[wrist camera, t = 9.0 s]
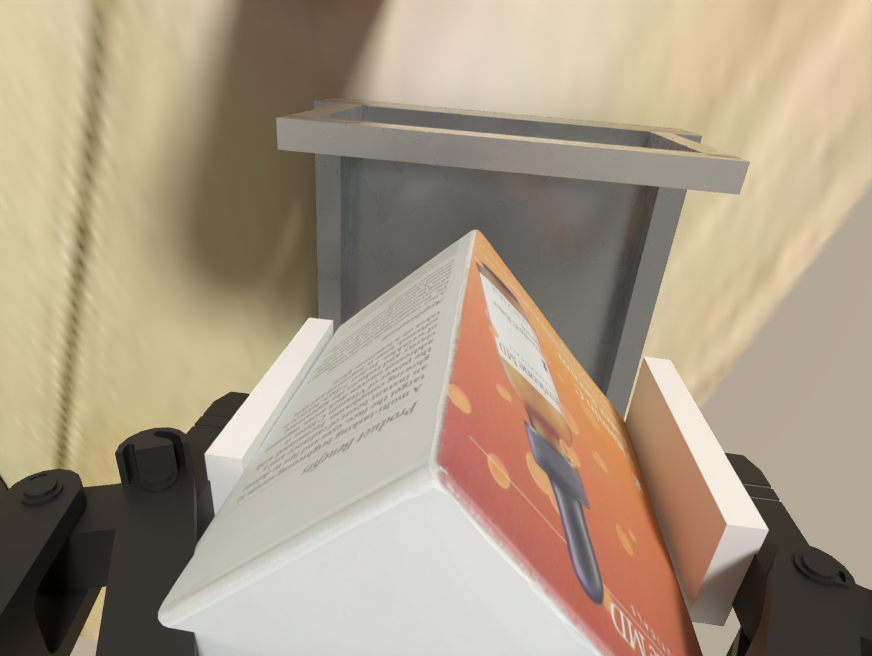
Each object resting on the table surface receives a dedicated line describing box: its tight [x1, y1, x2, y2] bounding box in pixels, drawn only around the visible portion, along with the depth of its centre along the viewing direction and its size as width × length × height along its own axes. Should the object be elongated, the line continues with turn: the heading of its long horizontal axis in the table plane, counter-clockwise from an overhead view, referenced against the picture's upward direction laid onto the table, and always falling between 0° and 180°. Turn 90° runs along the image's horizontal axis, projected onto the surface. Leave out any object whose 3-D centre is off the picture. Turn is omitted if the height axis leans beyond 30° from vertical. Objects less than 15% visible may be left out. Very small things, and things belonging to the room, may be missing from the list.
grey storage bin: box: [276, 98, 750, 419], centre depth 22 cm, size 14×14×10 cm
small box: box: [158, 230, 703, 656], centre depth 13 cm, size 8×6×10 cm
